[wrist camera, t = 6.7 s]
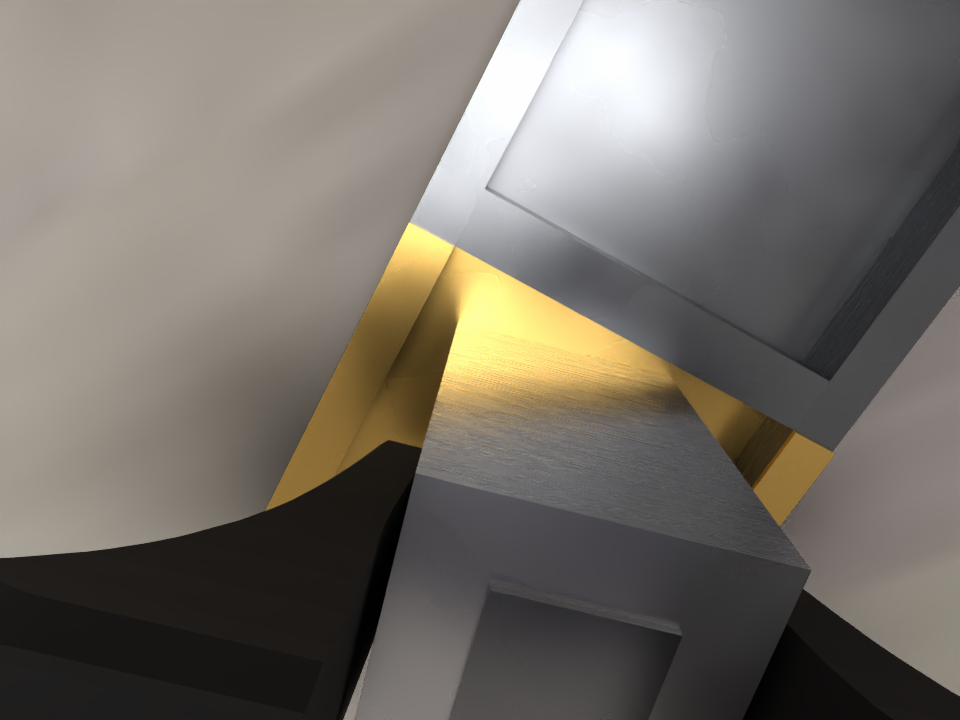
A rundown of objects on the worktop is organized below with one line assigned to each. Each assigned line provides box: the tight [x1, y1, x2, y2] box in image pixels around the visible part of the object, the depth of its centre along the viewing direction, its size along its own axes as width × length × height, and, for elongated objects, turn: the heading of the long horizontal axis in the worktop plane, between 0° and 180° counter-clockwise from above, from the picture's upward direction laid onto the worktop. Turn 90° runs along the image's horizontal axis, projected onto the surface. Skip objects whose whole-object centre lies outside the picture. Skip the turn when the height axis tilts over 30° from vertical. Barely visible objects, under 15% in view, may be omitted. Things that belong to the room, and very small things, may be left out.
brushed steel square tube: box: [355, 324, 811, 720], centre depth 10 cm, size 4×4×6 cm
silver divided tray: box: [265, 0, 960, 643], centre depth 11 cm, size 8×24×2 cm, turn 152°
